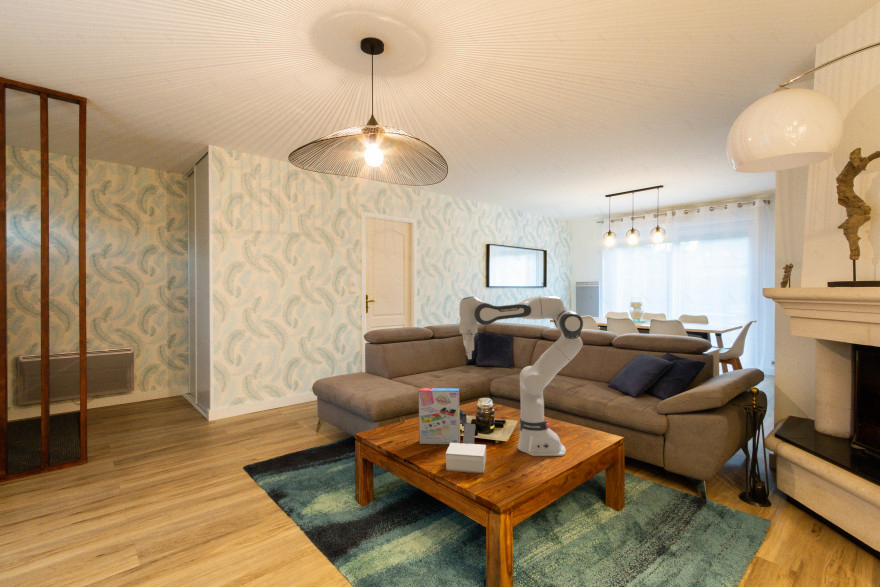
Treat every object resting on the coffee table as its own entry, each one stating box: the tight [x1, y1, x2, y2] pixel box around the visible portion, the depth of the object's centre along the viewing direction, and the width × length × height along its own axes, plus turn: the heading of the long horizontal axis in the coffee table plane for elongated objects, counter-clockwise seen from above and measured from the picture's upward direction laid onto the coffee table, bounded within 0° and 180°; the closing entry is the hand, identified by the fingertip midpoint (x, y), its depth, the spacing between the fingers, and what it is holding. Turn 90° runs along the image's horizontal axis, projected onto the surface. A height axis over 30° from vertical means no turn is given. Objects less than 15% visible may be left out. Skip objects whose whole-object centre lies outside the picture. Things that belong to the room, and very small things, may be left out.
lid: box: [445, 423, 487, 462], centre depth 181 cm, size 16×20×9 cm
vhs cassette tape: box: [459, 408, 468, 426], centre depth 229 cm, size 18×3×10 cm, turn 18°
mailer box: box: [445, 448, 487, 474], centre depth 178 cm, size 16×12×7 cm
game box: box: [417, 387, 461, 445], centre depth 206 cm, size 21×6×27 cm, turn 84°
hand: (468, 357), depth 201 cm, fingers open, 8 cm apart
